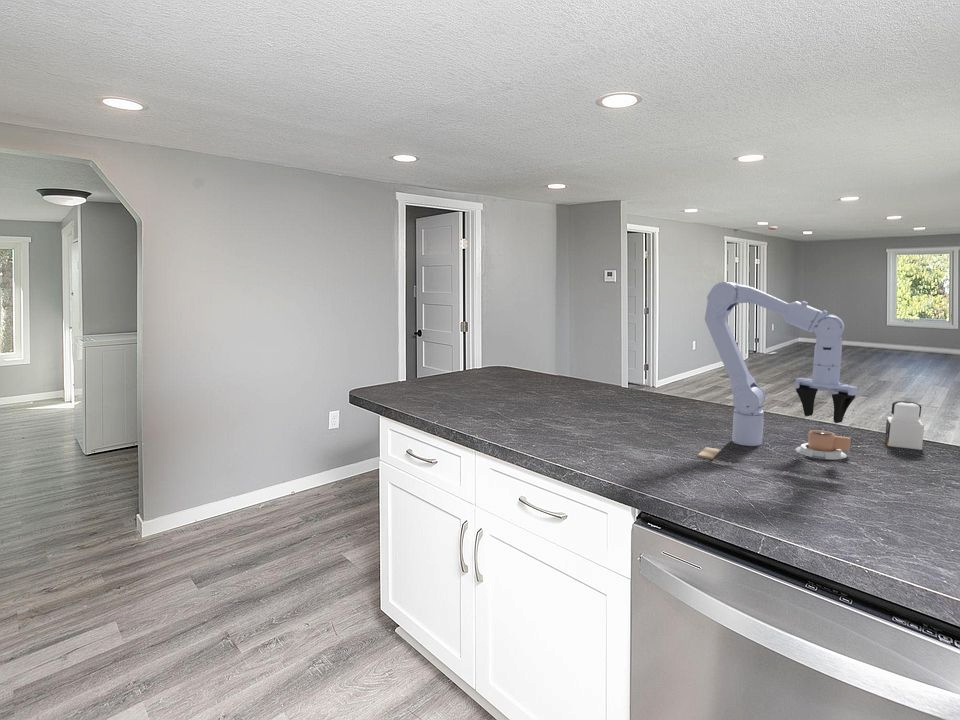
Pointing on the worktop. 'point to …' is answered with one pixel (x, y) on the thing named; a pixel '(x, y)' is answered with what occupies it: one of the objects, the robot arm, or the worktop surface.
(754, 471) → the worktop surface
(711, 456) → the mat
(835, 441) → the mug
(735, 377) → the robot arm
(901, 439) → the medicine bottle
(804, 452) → the plate
